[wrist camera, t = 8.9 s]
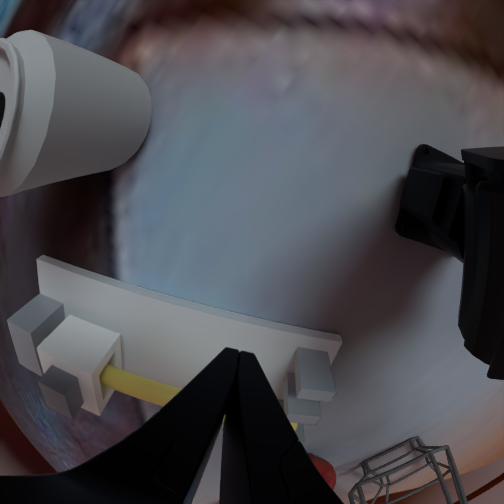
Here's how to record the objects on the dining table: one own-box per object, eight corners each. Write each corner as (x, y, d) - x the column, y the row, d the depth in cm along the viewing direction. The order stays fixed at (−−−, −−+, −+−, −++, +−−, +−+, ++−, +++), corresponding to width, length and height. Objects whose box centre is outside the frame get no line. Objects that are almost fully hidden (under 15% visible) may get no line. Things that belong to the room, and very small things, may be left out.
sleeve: (120, 333, 21) (77, 394, 14) (122, 376, 22) (89, 434, 16) (70, 314, 20) (21, 363, 14) (76, 357, 22) (38, 406, 16)
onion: (340, 455, 28) (347, 509, 20) (299, 469, 29) (300, 520, 22) (318, 437, 26) (324, 498, 19) (274, 452, 28) (272, 510, 20)
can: (111, 191, 19) (-22, 245, 8) (56, 129, 17) (-71, 141, 6) (179, 109, 17) (56, 71, 6) (114, 50, 15) (-8, 2, 4)
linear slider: (340, 334, 21) (356, 389, 16) (292, 424, 26) (293, 473, 20) (43, 254, 21) (-1, 282, 15) (57, 354, 25) (29, 388, 20)
